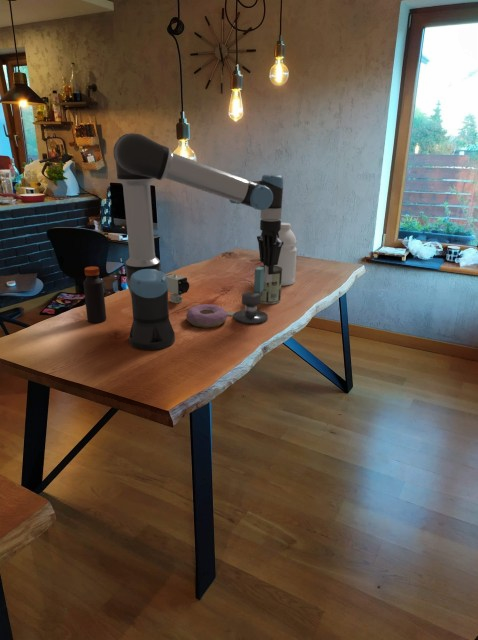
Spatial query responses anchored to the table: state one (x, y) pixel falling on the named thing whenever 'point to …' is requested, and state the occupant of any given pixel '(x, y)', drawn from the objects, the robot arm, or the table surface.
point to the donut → (206, 315)
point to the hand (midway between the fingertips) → (268, 281)
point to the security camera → (177, 287)
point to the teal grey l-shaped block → (255, 289)
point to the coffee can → (272, 288)
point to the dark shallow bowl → (249, 315)
